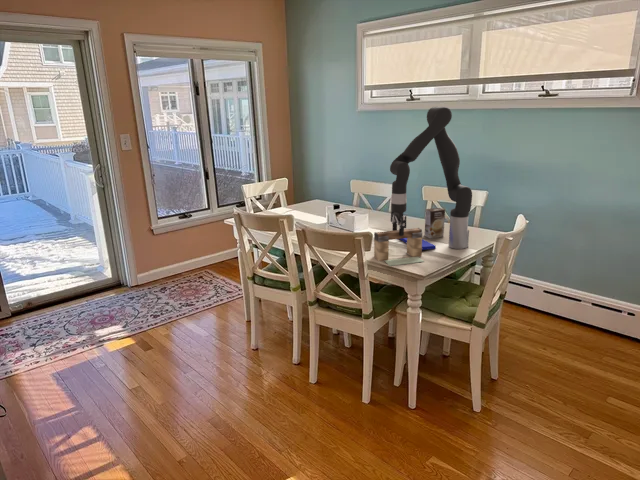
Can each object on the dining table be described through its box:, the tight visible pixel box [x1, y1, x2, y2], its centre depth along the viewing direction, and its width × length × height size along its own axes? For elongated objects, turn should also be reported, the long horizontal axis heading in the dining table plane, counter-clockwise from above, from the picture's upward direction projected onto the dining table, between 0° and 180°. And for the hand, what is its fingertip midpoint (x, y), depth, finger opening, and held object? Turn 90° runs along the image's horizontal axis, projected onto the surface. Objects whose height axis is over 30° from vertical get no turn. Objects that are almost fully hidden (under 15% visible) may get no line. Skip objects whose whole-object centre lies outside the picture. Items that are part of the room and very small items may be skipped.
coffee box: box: [424, 207, 446, 239], centre depth 255 cm, size 9×6×16 cm
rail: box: [373, 227, 423, 241], centre depth 224 cm, size 24×4×4 cm, turn 103°
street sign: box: [399, 238, 436, 251], centre depth 250 cm, size 34×3×10 cm
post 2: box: [406, 231, 423, 257], centre depth 227 cm, size 5×7×12 cm
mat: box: [384, 256, 425, 267], centre depth 220 cm, size 18×7×1 cm, turn 103°
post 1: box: [373, 236, 390, 262], centre depth 224 cm, size 5×7×12 cm
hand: (397, 233), depth 224 cm, fingers open, 8 cm apart
